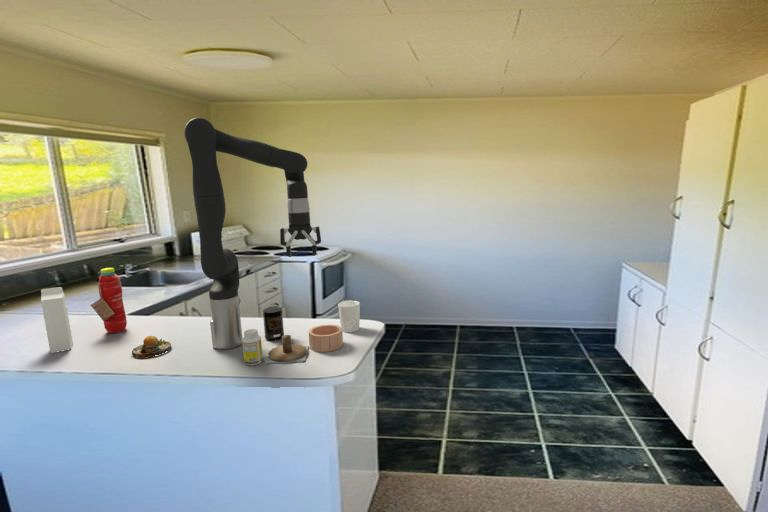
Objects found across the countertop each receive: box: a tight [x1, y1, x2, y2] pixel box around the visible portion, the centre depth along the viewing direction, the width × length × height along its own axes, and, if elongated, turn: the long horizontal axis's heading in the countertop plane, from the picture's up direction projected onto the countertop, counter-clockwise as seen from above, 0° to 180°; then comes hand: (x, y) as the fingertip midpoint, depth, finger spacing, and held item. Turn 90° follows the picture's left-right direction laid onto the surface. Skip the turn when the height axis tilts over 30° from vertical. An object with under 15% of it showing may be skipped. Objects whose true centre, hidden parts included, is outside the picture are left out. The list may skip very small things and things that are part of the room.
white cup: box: [337, 300, 361, 333], centre depth 165 cm, size 8×8×10 cm
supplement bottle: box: [242, 328, 264, 366], centre depth 138 cm, size 6×6×10 cm
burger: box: [131, 335, 172, 359], centre depth 150 cm, size 12×12×8 cm
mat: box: [265, 345, 310, 365], centre depth 143 cm, size 12×12×1 cm
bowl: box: [308, 324, 344, 353], centre depth 150 cm, size 11×11×6 cm
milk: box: [40, 286, 74, 354], centre depth 155 cm, size 6×6×22 cm
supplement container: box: [262, 306, 285, 342], centre depth 159 cm, size 7×7×10 cm
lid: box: [267, 334, 308, 362], centre depth 143 cm, size 12×12×6 cm
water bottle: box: [90, 267, 128, 334], centre depth 170 cm, size 12×8×25 cm, turn 164°
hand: (302, 256), depth 161 cm, fingers open, 8 cm apart
